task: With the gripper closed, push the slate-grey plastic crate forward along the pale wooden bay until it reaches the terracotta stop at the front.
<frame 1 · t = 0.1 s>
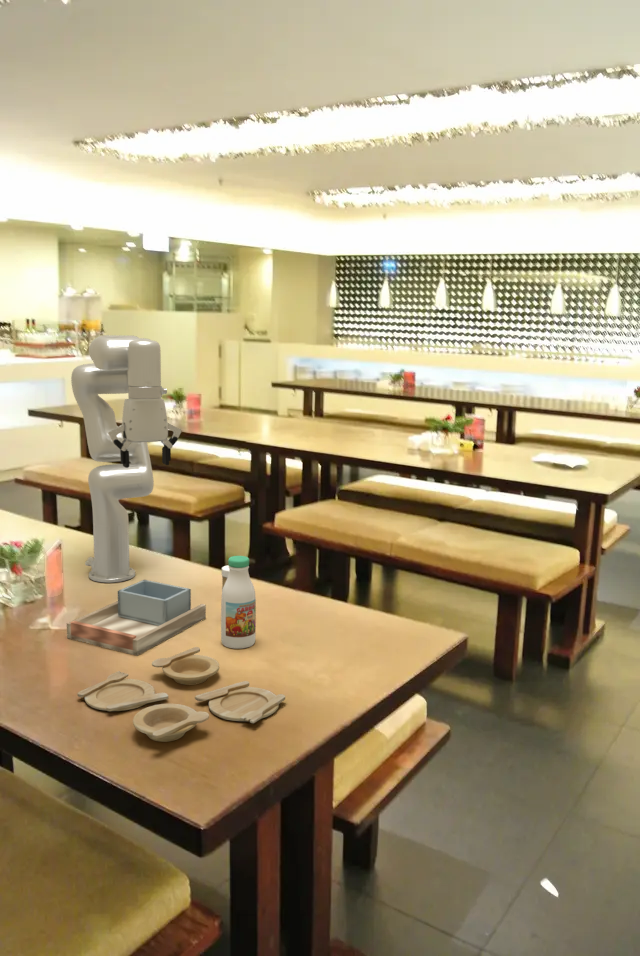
hand: (146, 465, 197), 37 cm above the table, tool pointing down, fingers open, 9 cm apart
crate: (154, 602, 199), point 4 cm above the table, slide at 0.0 cm
bay: (138, 627, 195), on the table
tableware set: (181, 704, 159), on the table
milk bottle: (238, 643, 188), on the table
sprinkles bottle: (231, 621, 201), on the table
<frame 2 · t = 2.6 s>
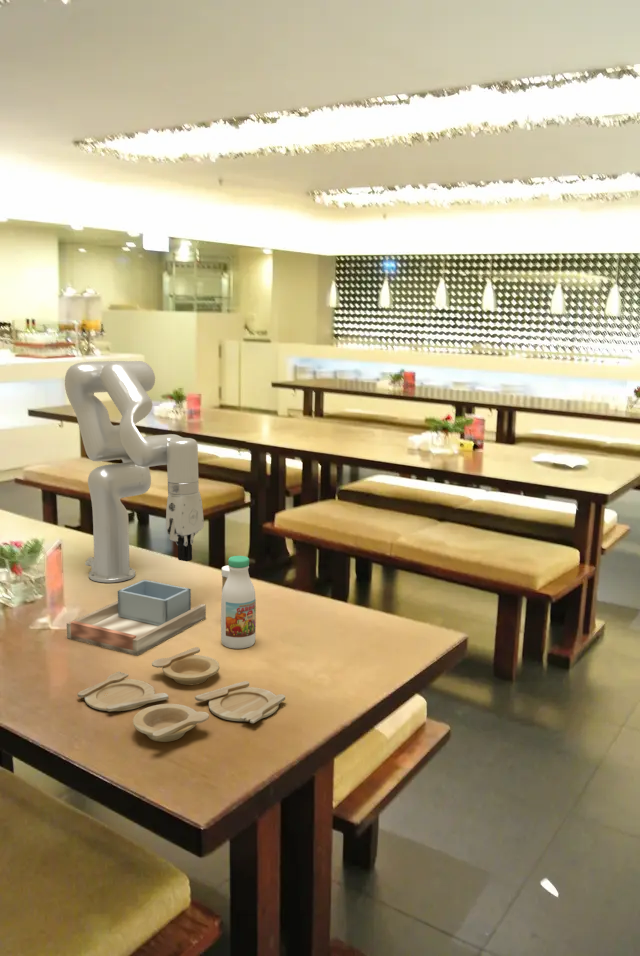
hand: (185, 559, 208), 12 cm above the table, tool pointing down, fingers closed
nothing on the table moved.
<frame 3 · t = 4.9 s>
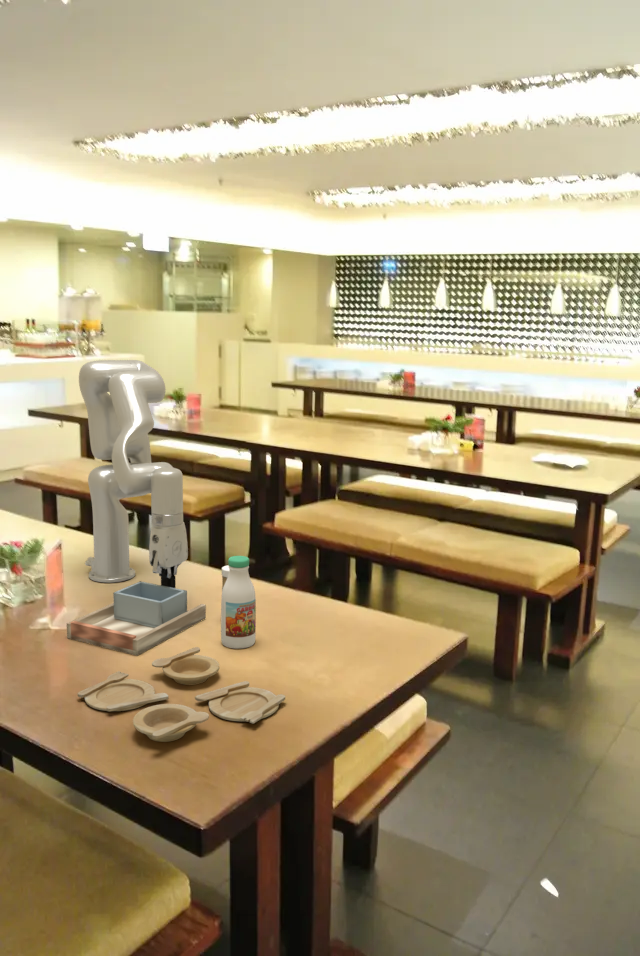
hand: (168, 591, 204), 6 cm above the table, tool pointing down, fingers closed
crate: (150, 604, 198), point 4 cm above the table, slide at 1.5 cm, touching gripper
everything else where it was.
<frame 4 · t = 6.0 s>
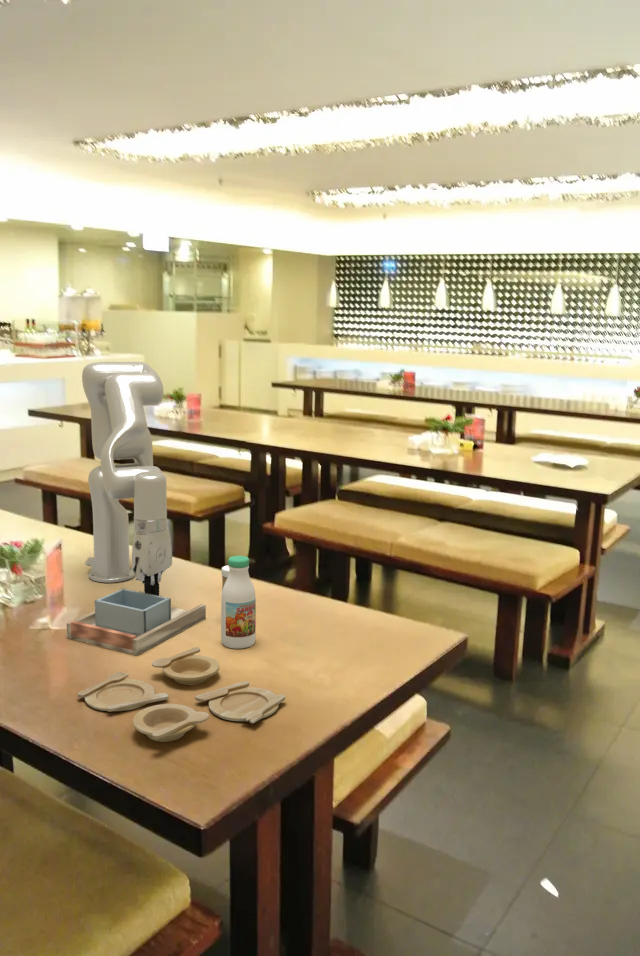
hand: (151, 598, 198), 6 cm above the table, tool pointing down, fingers closed
crate: (133, 612, 192), point 4 cm above the table, slide at 7.9 cm, touching gripper
everything else where it was.
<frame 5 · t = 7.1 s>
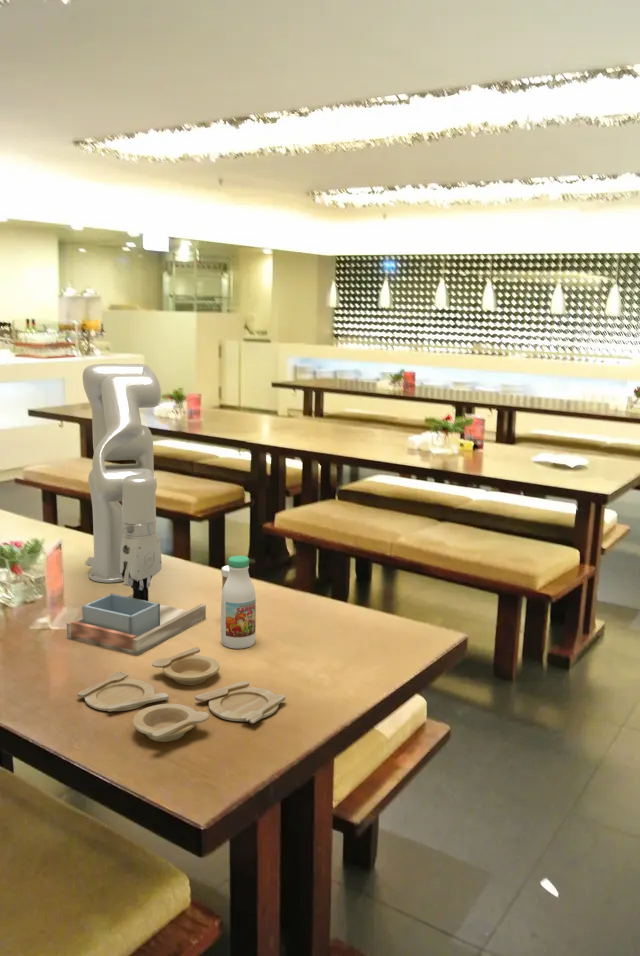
hand: (140, 603, 195), 6 cm above the table, tool pointing down, fingers closed
crate: (121, 618, 189), point 4 cm above the table, slide at 12.0 cm, touching gripper
everything else where it was.
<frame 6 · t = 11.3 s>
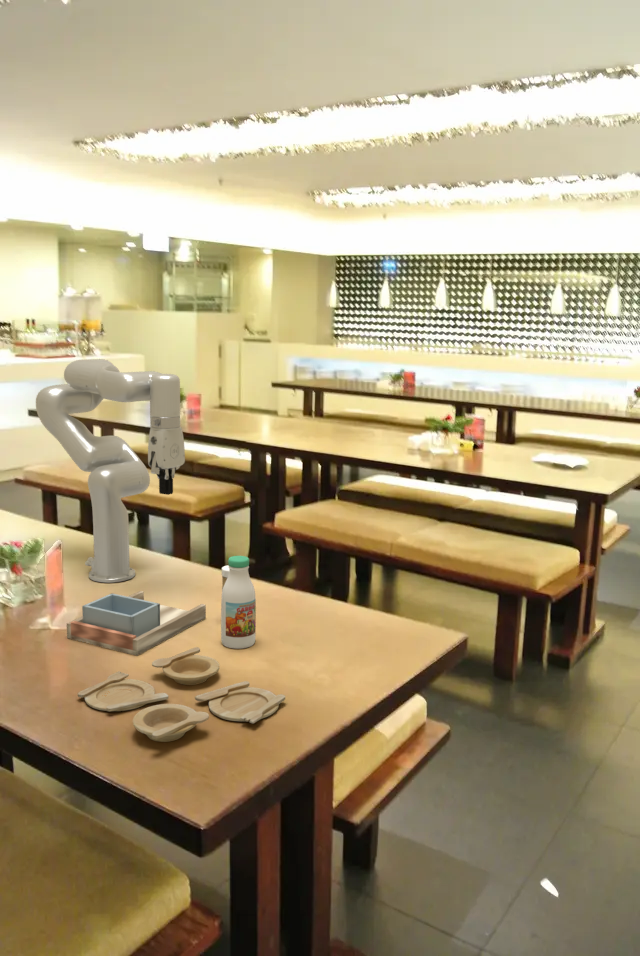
hand: (166, 493, 214), 27 cm above the table, tool pointing down, fingers closed
crate: (121, 618, 189), point 4 cm above the table, slide at 12.0 cm
everything else where it was.
at the end: crate slide at 12.0 cm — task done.
